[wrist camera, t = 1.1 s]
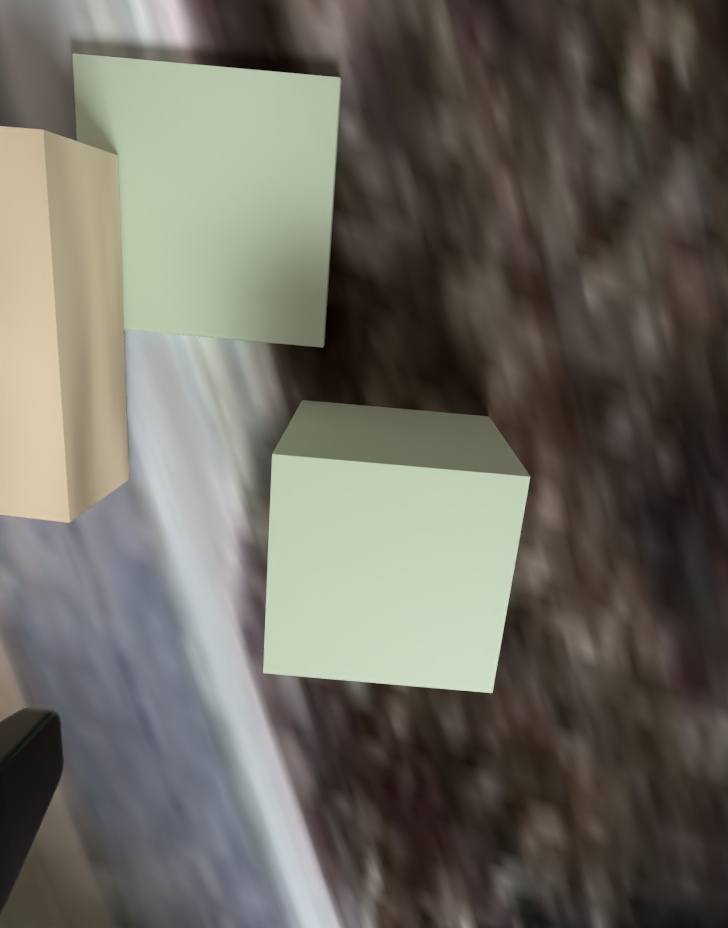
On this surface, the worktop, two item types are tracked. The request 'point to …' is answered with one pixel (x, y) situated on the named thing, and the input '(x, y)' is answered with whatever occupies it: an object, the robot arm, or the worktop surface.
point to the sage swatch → (218, 194)
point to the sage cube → (391, 546)
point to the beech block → (60, 327)
